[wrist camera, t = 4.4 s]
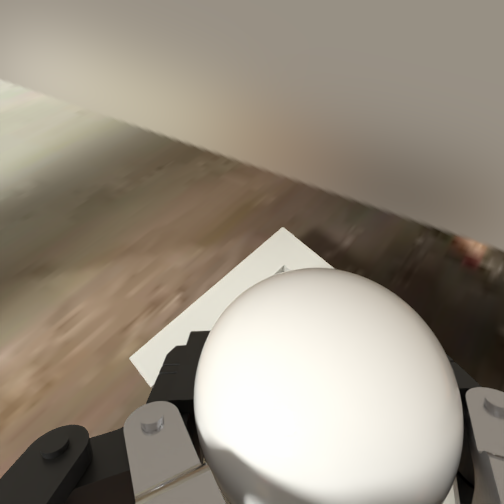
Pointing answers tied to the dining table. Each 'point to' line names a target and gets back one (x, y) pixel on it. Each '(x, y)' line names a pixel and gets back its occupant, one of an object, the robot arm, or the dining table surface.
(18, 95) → the dining table surface
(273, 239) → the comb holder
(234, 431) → the lightbulb
